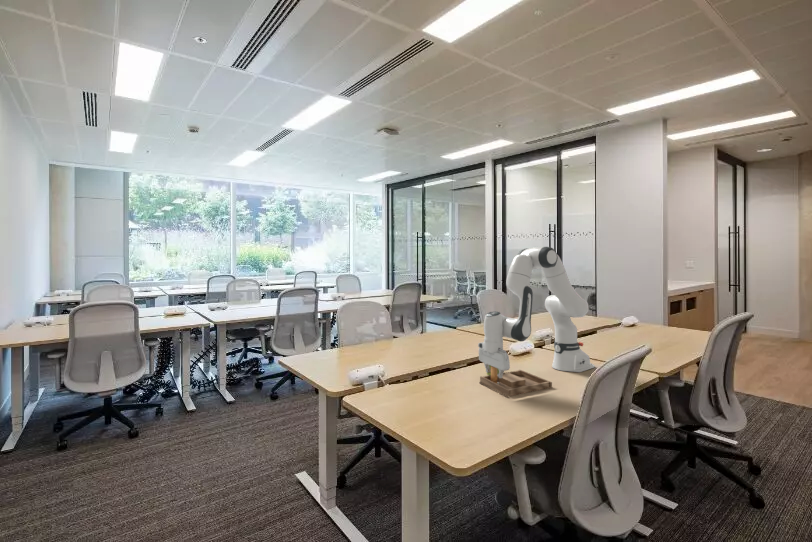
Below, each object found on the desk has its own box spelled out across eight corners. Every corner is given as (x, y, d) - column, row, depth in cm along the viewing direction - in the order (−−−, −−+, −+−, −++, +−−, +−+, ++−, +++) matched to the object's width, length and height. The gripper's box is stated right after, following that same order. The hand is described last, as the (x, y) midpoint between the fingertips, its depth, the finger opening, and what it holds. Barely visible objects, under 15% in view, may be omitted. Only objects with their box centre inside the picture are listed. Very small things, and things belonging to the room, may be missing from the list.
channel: (521, 376, 203) (521, 369, 202) (552, 389, 182) (552, 382, 182) (479, 383, 193) (479, 376, 193) (507, 398, 173) (507, 390, 172)
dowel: (494, 381, 192) (494, 365, 192) (498, 383, 189) (498, 366, 189) (489, 382, 191) (489, 366, 190) (493, 384, 188) (493, 367, 188)
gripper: (512, 350, 181) (513, 380, 182) (486, 341, 200) (487, 368, 200) (501, 351, 178) (501, 382, 179) (476, 342, 197) (476, 370, 198)
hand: (494, 375), depth 190 cm, fingers open, 8 cm apart
